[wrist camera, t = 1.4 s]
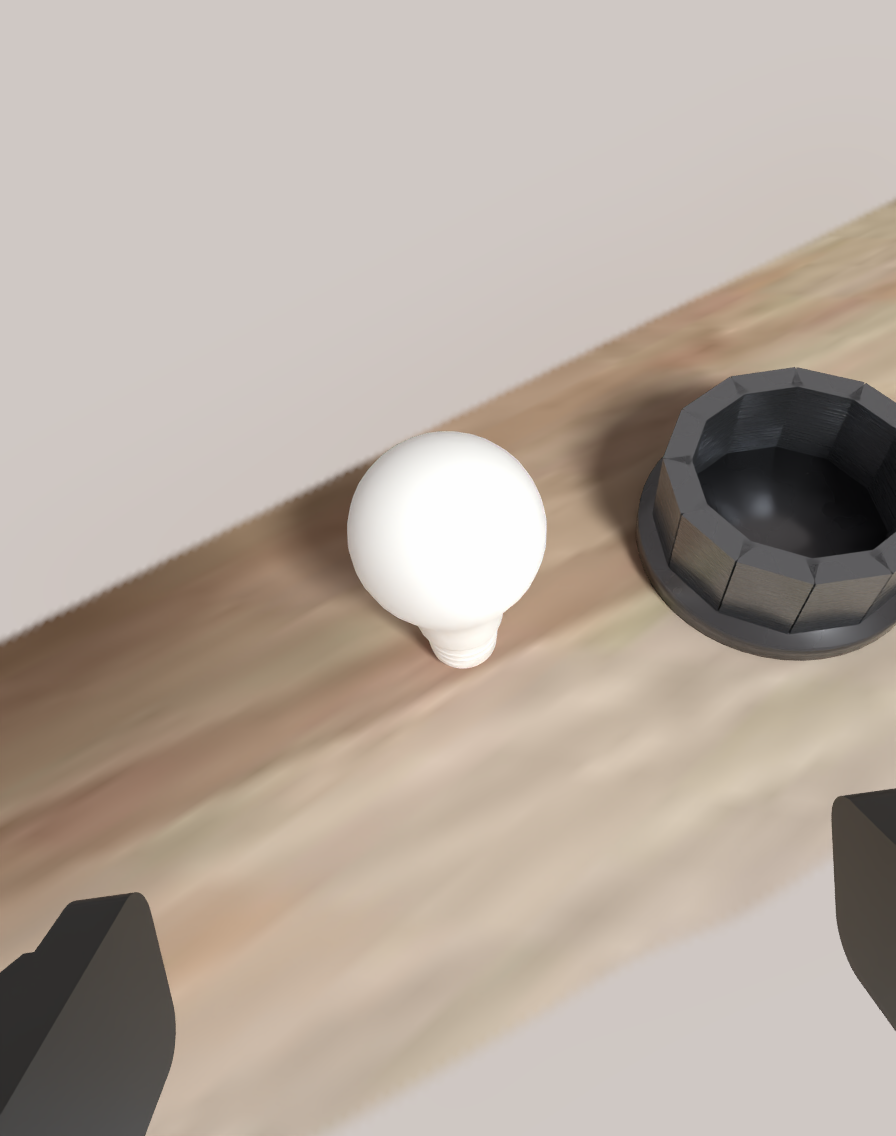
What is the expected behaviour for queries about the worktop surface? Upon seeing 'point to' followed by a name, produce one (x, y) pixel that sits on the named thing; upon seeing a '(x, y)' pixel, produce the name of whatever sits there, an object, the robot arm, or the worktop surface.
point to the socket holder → (778, 515)
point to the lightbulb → (448, 539)
